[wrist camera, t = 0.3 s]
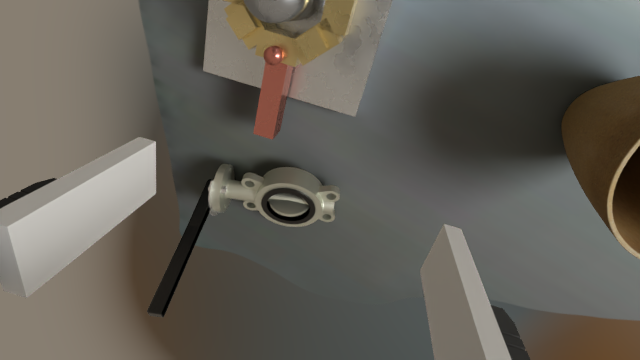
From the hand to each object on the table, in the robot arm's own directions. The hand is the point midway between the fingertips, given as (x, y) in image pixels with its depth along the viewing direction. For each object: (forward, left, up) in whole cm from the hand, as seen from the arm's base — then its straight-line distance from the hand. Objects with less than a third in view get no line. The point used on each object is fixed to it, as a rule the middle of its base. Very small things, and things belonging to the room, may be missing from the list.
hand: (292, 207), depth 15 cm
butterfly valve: (+15, -5, -27) cm, 32 cm away
